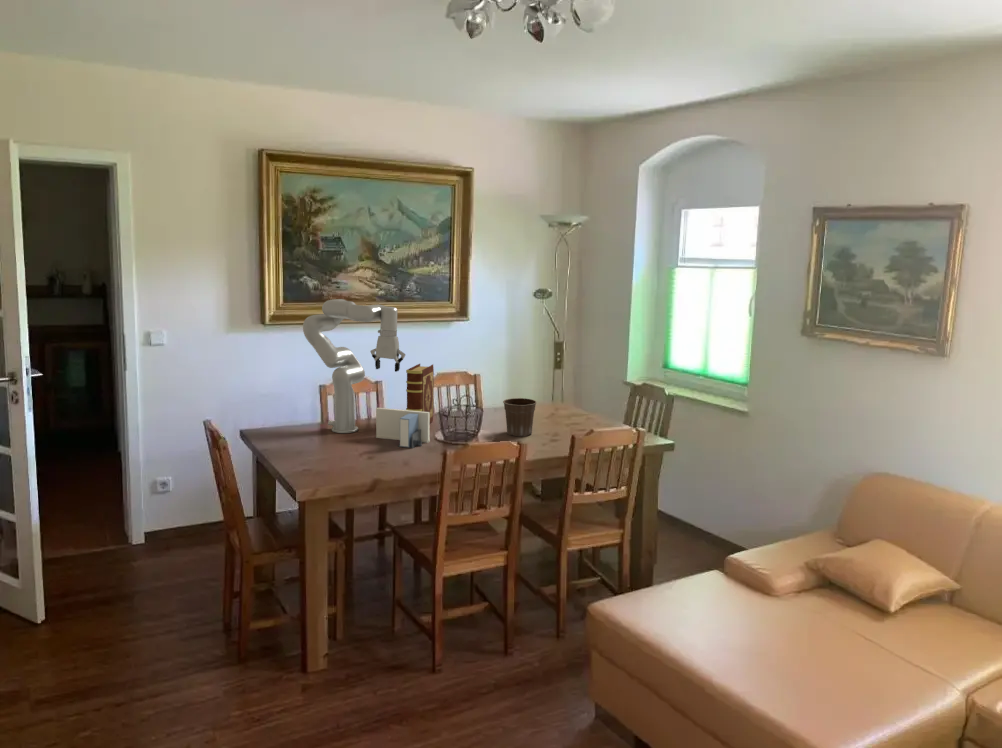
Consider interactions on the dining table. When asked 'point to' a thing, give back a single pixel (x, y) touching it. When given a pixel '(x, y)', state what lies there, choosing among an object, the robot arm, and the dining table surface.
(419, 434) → the bookend
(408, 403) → the decorative book
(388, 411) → the shelf wall
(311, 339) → the robot arm
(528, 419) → the plant pot
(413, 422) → the boxed book
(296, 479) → the dining table surface
